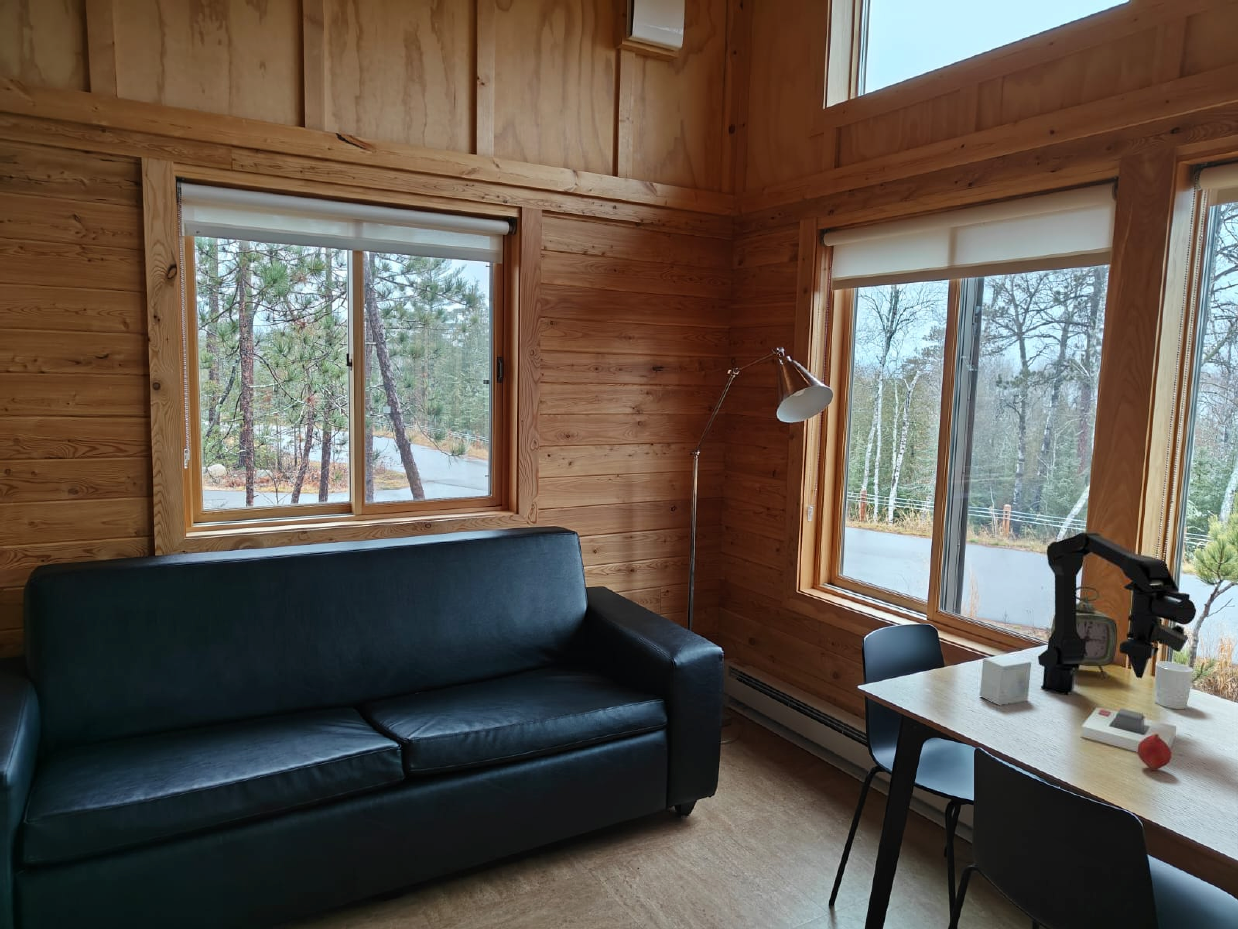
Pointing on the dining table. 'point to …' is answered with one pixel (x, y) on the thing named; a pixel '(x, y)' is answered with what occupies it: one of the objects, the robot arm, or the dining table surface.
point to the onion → (1154, 752)
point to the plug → (1130, 721)
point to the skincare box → (1005, 679)
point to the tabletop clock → (1095, 633)
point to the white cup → (1172, 684)
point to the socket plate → (1104, 730)
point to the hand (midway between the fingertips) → (1139, 677)
